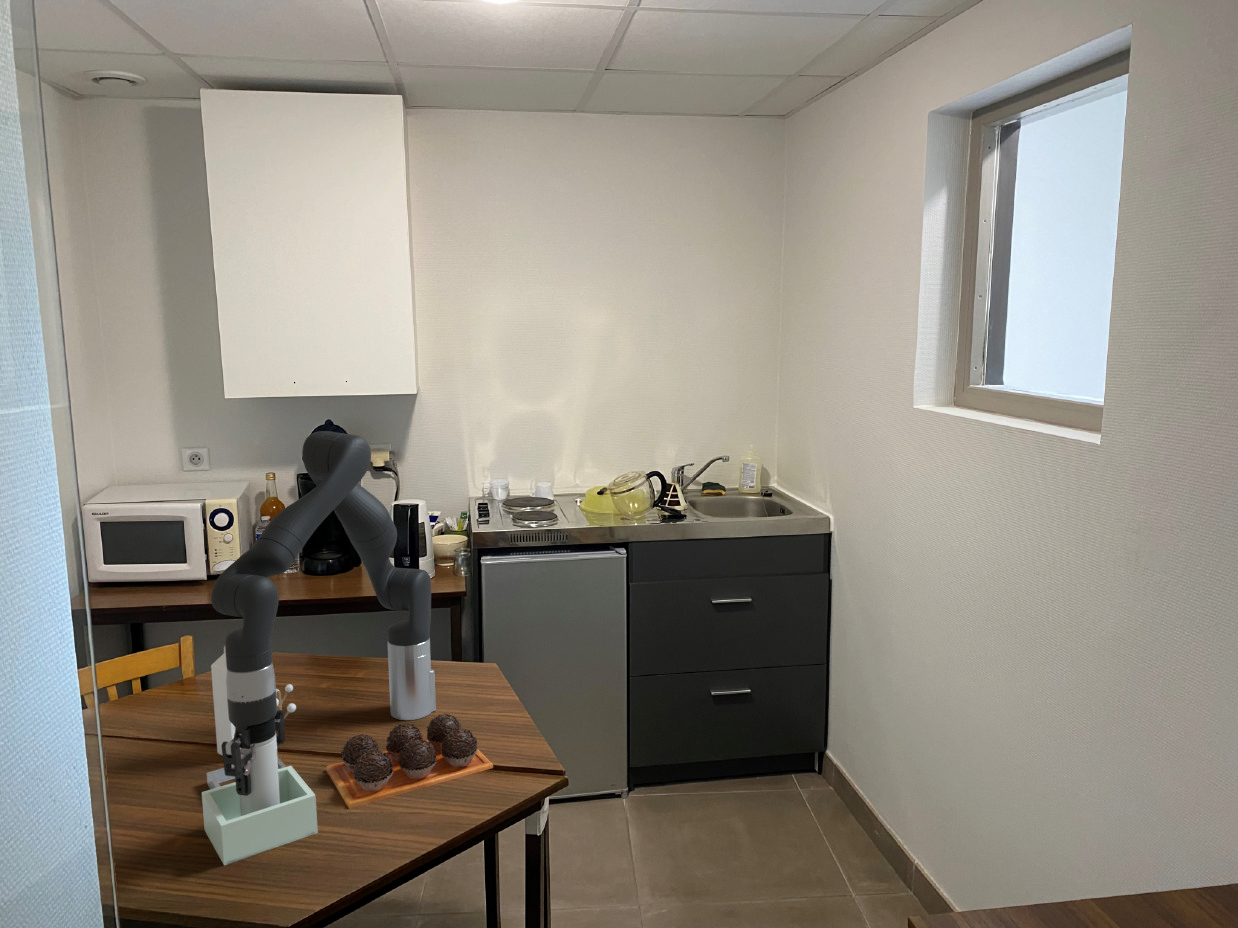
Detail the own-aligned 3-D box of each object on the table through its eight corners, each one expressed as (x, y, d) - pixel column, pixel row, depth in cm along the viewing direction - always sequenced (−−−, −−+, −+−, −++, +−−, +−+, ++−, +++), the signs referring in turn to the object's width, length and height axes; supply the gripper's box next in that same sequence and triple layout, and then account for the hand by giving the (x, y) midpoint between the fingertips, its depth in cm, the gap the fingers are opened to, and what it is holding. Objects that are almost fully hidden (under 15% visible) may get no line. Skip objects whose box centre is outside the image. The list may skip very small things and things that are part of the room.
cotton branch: (298, 747, 179) (294, 692, 177) (264, 752, 177) (260, 696, 175) (299, 732, 186) (296, 679, 184) (266, 736, 184) (263, 682, 182)
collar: (275, 764, 172) (275, 752, 172) (294, 788, 163) (294, 776, 163) (207, 784, 164) (206, 772, 164) (223, 811, 155) (222, 798, 155)
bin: (293, 802, 158) (291, 765, 157) (317, 834, 148) (315, 795, 147) (204, 831, 149) (201, 792, 148) (224, 867, 139) (221, 825, 138)
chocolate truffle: (461, 738, 184) (460, 700, 183) (493, 771, 171) (492, 730, 169) (326, 773, 170) (324, 733, 168) (349, 812, 156) (347, 768, 155)
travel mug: (244, 842, 144) (237, 729, 141) (239, 823, 150) (232, 713, 147) (283, 832, 147) (277, 721, 144) (278, 814, 153) (272, 706, 150)
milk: (244, 742, 182) (238, 641, 178) (260, 750, 178) (254, 647, 175) (216, 753, 177) (209, 649, 174) (232, 762, 173) (225, 656, 170)
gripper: (244, 710, 137) (251, 808, 140) (296, 675, 151) (301, 764, 154) (202, 706, 139) (210, 802, 141) (257, 672, 153) (263, 760, 155)
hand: (258, 782), depth 147 cm, fingers open, 7 cm apart
